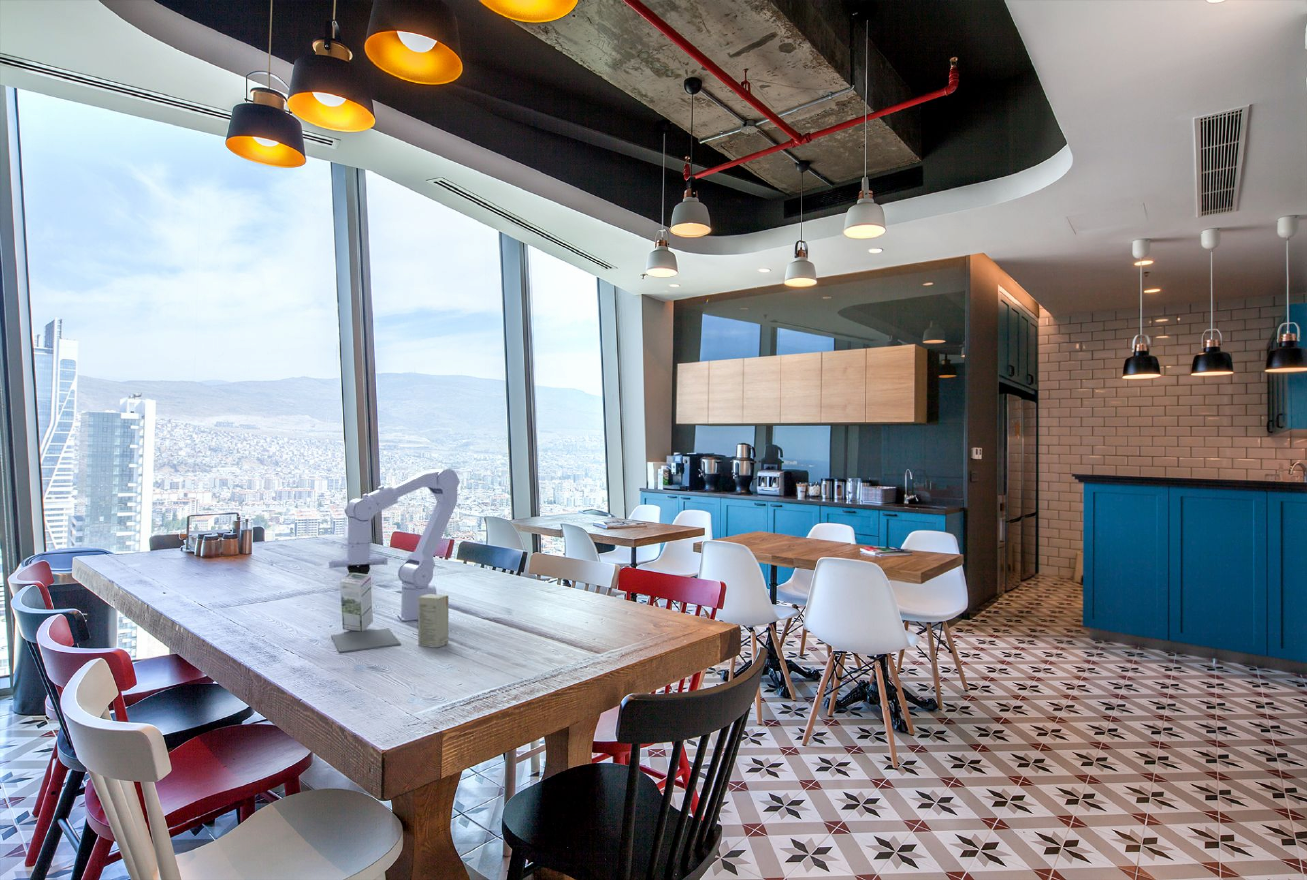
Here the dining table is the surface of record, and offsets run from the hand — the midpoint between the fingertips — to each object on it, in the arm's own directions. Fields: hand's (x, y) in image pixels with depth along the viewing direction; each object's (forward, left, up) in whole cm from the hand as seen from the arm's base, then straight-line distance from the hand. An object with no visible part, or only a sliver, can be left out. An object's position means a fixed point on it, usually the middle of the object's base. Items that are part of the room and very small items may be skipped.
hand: (357, 592), depth 179 cm
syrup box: (0, +2, -9) cm, 9 cm away
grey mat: (0, +14, -9) cm, 17 cm away
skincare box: (-14, +25, -10) cm, 31 cm away
